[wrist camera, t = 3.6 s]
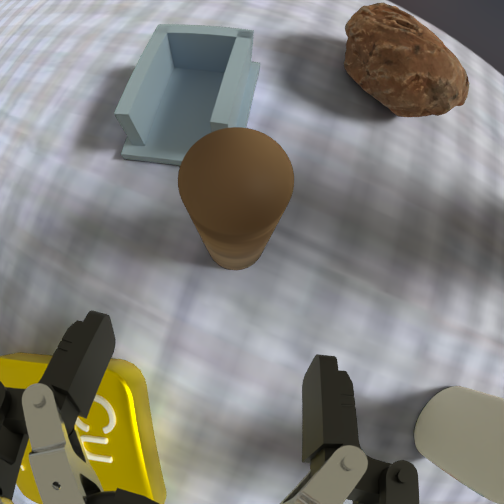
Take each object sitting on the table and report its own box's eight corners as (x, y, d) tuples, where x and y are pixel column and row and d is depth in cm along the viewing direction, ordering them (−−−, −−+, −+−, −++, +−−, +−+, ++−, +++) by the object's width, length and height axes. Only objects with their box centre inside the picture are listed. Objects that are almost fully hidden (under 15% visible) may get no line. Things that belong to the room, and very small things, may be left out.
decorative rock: (449, 130, 28) (501, 84, 18) (376, 149, 27) (428, 89, 17) (390, 44, 29) (422, -10, 20) (314, 50, 28) (336, -19, 18)
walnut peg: (239, 203, 25) (243, 109, 12) (275, 245, 25) (317, 185, 12) (195, 238, 24) (156, 171, 12) (231, 281, 24) (227, 258, 11)
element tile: (8, 350, 22) (-23, 354, 17) (145, 358, 23) (125, 370, 18) (40, 482, 20) (18, 500, 15) (171, 506, 21) (162, 535, 16)
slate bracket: (163, 60, 27) (153, 19, 21) (259, 69, 27) (264, 26, 21) (124, 159, 25) (100, 124, 19) (236, 174, 25) (236, 138, 19)
